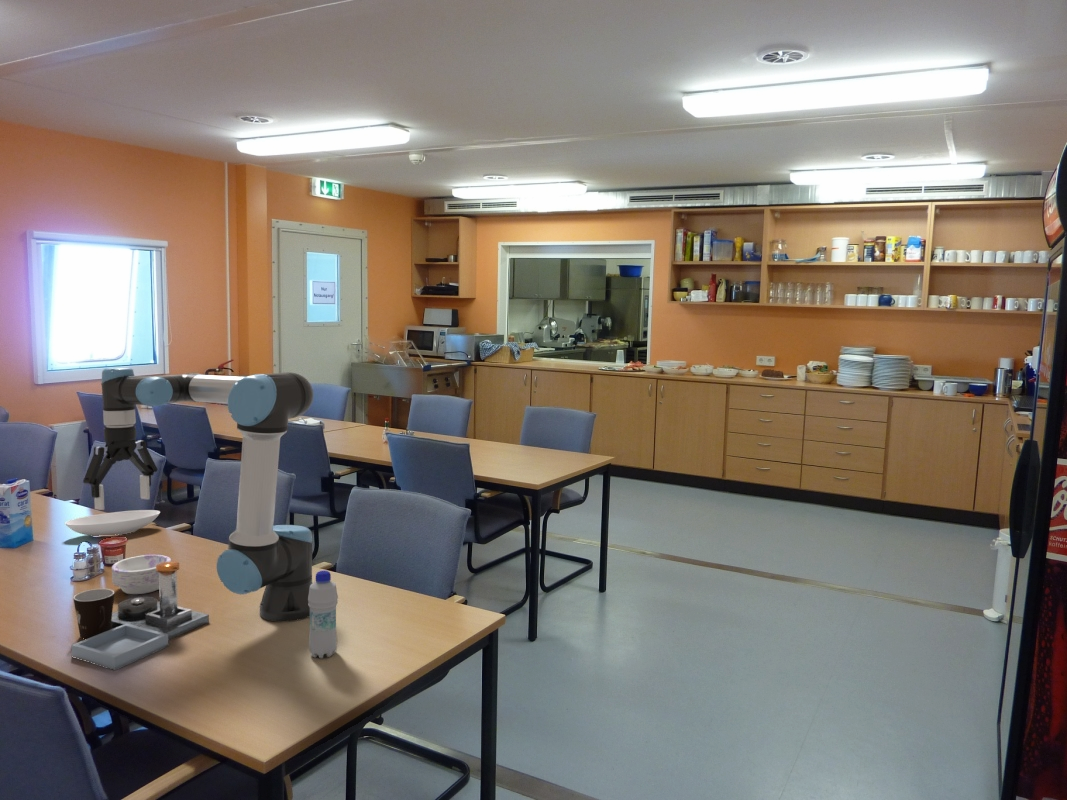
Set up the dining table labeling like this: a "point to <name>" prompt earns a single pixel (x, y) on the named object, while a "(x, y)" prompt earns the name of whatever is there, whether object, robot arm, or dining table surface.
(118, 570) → the paper bowls
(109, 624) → the coffee mug
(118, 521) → the bowl
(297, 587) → the robot arm
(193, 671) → the dining table surface
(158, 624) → the plate
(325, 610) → the bottle
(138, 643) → the tray
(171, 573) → the pin
